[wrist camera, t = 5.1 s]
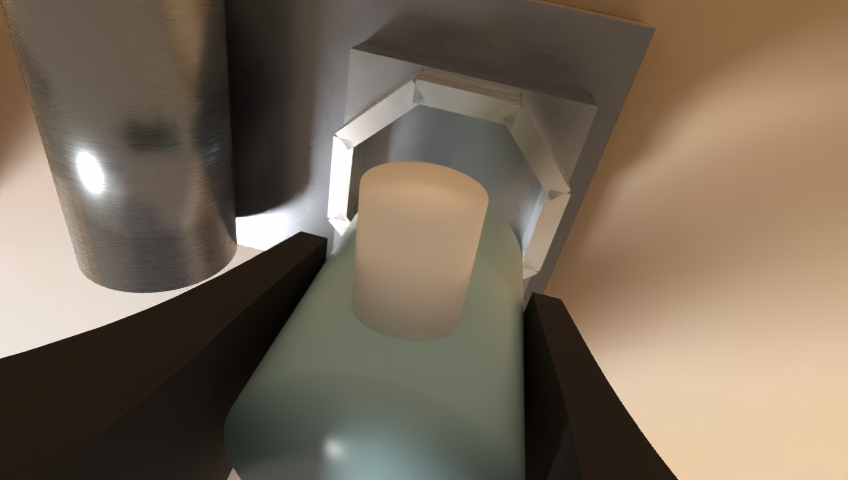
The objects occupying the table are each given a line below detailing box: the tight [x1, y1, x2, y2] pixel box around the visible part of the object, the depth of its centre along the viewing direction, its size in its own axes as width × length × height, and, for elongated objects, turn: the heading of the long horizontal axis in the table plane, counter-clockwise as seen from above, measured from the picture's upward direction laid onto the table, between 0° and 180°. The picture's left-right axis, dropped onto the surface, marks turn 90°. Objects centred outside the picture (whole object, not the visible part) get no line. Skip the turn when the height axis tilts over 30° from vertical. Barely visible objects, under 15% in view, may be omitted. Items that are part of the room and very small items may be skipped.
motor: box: [1, 0, 655, 313], centre depth 14 cm, size 11×18×6 cm, turn 80°
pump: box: [223, 161, 525, 480], centre depth 8 cm, size 6×4×6 cm
